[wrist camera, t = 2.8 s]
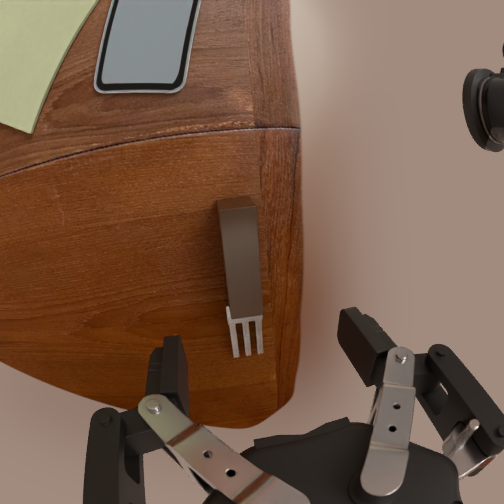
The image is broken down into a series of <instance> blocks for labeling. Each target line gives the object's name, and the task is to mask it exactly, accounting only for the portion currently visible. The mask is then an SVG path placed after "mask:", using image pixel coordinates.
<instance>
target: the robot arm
mask: <svg viewBox="0 0 504 504" xmlns="http://www.w3.org/2000/svg"><path fill="white" fill-rule="evenodd" d="M502 52H503V57H504V44H503V48H502ZM477 109H478V115H479V119H480V123H481V126H482V128H483V131H484V133H485V134H486V136H487V137H488V138H489V140H491V141H492V142H494V143H497V144H504V68H501V71H500V73H490V75H489V77H486V78H484V79H482V81H481V82H480V84H479V87H478V91H477ZM337 337H338V341H339V344H340V346H341V347H342V349H343V350H344V352H345V353H346V355H347V356H348V358H349V360H350V361H351V363H352V364H353V366H354V368H355V369H356V371H357V372H358V374H359V376H360V377H361V379H362V380H363V382H364V383H365V385H366V387H369V386H372V385H375V386H376V387H377V388H376V391H375V395H374V399H373V403H372V407H371V411H370V415H369V419H368V422H367V424H365V423H359V422H351V423H350V422H349V419H348V418H347V417H345V418H342V419H339V420H335V421H332V422H328V423H325V424H324V425H322V426H320V427H318V428H316V429H314V430H312V431H310V432H309V433H306V434H303V435H276V436H271V437H266V438H260V439H254V446H253V447H250V448H248V449H246V450H245V451H243V452H242V453H240V454H238V453H237V452H235V451H234V450H233V449H231V448H230V447H229V446H228V445H226V444H225V443H224V442H222V441H221V440H220V439H219V438H217V437H216V436H215V435H214V434H212V433H211V432H210V431H209V430H208V429H207V428H205V427H204V426H203V425H201V424H197V425H196V424H195V423H193V422H192V421H191V420H190V419H189V394H188V366H187V360H186V356H185V352H184V349H183V345H182V341H181V337H180V335H176V336H166V337H164V343H163V347H161V348H155V349H154V351H153V352H152V354H151V355H150V361H149V368H148V376H147V384H146V393H145V397H144V398H143V399H142V400H141V401H140V402H139V404H138V406H137V407H136V408H134V409H131V410H128V411H125V412H121V413H119V412H118V411H117V410H115V409H113V408H102V409H99V410H98V411H96V412H95V413H94V414H93V416H92V418H91V422H90V430H89V436H88V444H87V453H86V463H85V474H84V489H83V504H146V502H145V488H144V470H143V454H144V453H148V452H151V451H154V450H157V449H162V450H163V451H164V452H165V453H166V454H167V455H168V456H169V457H170V458H171V459H172V460H173V461H174V462H175V463H176V464H177V465H178V466H179V467H180V468H181V469H182V470H183V471H184V472H185V473H186V474H187V475H188V477H189V478H190V479H191V480H192V481H193V482H194V483H195V484H196V485H197V486H198V487H199V488H200V489H201V490H203V491H204V492H205V493H206V494H207V495H208V497H207V498H206V500H205V501H204V502H203V504H463V503H462V500H461V497H460V492H459V480H461V479H463V478H464V477H466V476H474V475H476V474H478V473H479V472H480V471H481V470H482V469H483V468H484V467H486V466H487V465H488V464H489V463H490V462H491V461H492V460H493V459H494V458H495V457H496V456H497V455H498V454H499V453H500V452H501V451H502V450H503V449H504V414H503V413H502V412H501V410H500V409H499V408H498V407H497V405H496V404H495V403H494V401H493V400H492V399H491V397H490V396H489V395H488V394H487V392H486V391H485V390H484V389H483V387H482V386H481V385H480V384H479V382H478V381H477V380H476V379H475V377H474V376H473V375H472V374H471V373H470V371H469V370H468V369H467V368H466V367H465V366H464V364H463V363H462V362H461V361H460V359H459V358H458V357H457V356H456V355H455V354H454V353H453V351H452V350H451V349H450V348H449V347H447V346H445V345H442V344H435V345H432V346H431V347H430V348H429V351H428V353H424V354H413V353H412V351H410V350H409V349H407V348H404V347H397V345H396V344H395V343H394V342H393V341H392V340H391V338H390V337H389V336H388V335H387V334H386V333H385V331H383V329H382V328H381V327H380V326H379V324H378V323H377V322H376V321H375V320H374V319H373V318H371V317H370V316H368V315H366V314H364V315H362V314H361V312H360V311H359V310H358V309H357V308H356V307H351V308H347V309H342V310H341V311H340V316H339V324H338V332H337ZM440 383H442V385H443V386H444V388H446V390H447V392H448V395H447V394H446V392H445V391H444V390H443V388H442V387H441V386H440ZM415 396H416V398H417V399H418V401H419V402H420V404H421V406H422V407H423V409H424V410H425V412H426V413H427V415H428V417H429V418H430V420H431V422H432V423H433V425H434V426H435V428H436V430H437V431H438V433H439V435H440V436H441V438H442V440H443V441H444V442H443V446H442V450H443V452H444V453H443V454H441V453H438V452H435V451H433V450H430V449H427V448H425V447H422V446H420V445H417V444H415V443H412V442H410V441H409V439H410V433H411V426H412V419H413V412H414V403H415Z"/></svg>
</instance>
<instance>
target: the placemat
mask: <svg viewBox="0 0 504 504" xmlns="http://www.w3.org/2000/svg"><path fill="white" fill-rule="evenodd" d="M98 2H99V0H0V123H3V124H6V125H8V126H11V127H14V128H16V129H19V130H21V131H24V132H27V133H29V134H33V132H34V129H35V126H36V123H37V120H38V117H39V115H40V112H41V109H42V107H43V104H44V102H45V99H46V97H47V94H48V92H49V90H50V87H51V85H52V83H53V81H54V79H55V76H56V74H57V72H58V70H59V68H60V66H61V64H62V62H63V60H64V58H65V56H66V54H67V52H68V51H69V49H70V47H71V45H72V43H73V41H74V40H75V38H76V36H77V35H78V33H79V31H80V30H81V28H82V26H83V25H84V23H85V21H86V20H87V18H88V17H89V15H90V14H91V12H92V11H93V9H94V8H95V6H96V5H97V3H98Z"/></svg>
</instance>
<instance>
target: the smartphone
mask: <svg viewBox="0 0 504 504" xmlns="http://www.w3.org/2000/svg"><path fill="white" fill-rule="evenodd" d="M200 5H201V0H112V2H111V6H110V9H109V13H108V16H107V20H106V24H105V28H104V32H103V36H102V41H101V45H100V50H99V55H98V60H97V65H96V71H95V77H94V87H95V89H96V90H97V91H98V92H99V93H102V94H114V93H176V92H178V91H180V90H181V89H182V88H183V87H184V86H185V83H186V79H187V73H188V66H189V61H190V55H191V49H192V43H193V38H194V32H195V28H196V23H197V18H198V14H199V9H200Z"/></svg>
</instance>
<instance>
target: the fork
mask: <svg viewBox="0 0 504 504" xmlns="http://www.w3.org/2000/svg"><path fill="white" fill-rule="evenodd" d="M216 204H217V214H218V223H219V232H220V241H221V250H222V258H223V267H224V275H225V283H226V291H227V299H228V300H225V301H224V302H225V309H226V316H227V322H228V325H229V330H230V337H231V344H232V351H233V356H234V358H236V357H240V355H239V347H238V340H237V332H236V324H237V323H241V324H242V333H243V342H244V350H245V355H246V356H249V355H252V353H251V343H250V332H249V322H250V321H254V329H255V341H256V350H257V353H258V354H261V353H263V336H262V319H263V303H262V286H261V269H260V252H259V236H258V220H257V206H256V205H255V204H254V202H253V201H252V200H251V198H250V197H249V196H248V197H239V198H230V199H221V200H216Z"/></svg>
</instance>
